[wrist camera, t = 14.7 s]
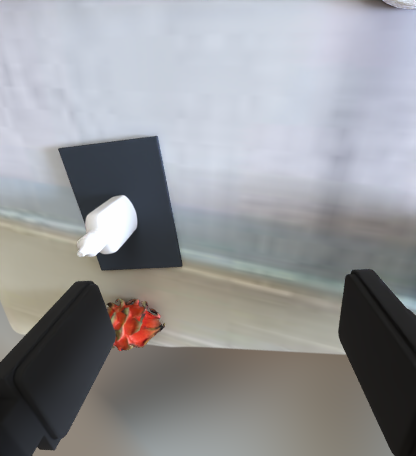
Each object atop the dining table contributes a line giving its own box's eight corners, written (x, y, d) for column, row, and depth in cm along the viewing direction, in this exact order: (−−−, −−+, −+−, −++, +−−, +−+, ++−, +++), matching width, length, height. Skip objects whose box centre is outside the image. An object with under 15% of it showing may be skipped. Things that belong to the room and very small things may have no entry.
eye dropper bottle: (109, 224, 38) (59, 269, 27) (113, 190, 36) (60, 225, 25) (136, 232, 38) (98, 280, 27) (142, 199, 36) (103, 238, 25)
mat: (60, 148, 34) (57, 148, 34) (157, 136, 32) (156, 136, 32) (103, 268, 42) (101, 270, 42) (182, 264, 41) (181, 266, 40)
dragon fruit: (105, 294, 47) (168, 296, 48) (99, 342, 46) (165, 343, 47) (88, 299, 39) (165, 301, 40) (80, 358, 37) (161, 359, 38)
